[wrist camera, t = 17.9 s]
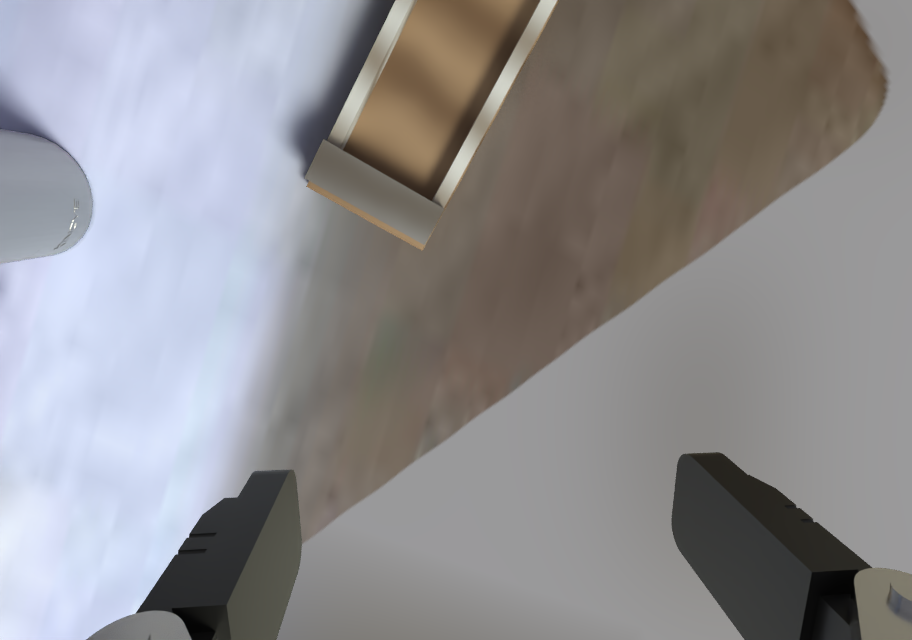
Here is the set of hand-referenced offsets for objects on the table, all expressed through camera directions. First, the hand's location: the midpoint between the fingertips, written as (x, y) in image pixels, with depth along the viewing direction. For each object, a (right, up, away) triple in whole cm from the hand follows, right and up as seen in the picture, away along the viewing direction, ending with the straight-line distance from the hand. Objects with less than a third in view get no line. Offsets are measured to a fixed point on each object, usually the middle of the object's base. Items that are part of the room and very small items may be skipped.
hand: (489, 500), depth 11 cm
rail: (0, +26, +28) cm, 38 cm away
